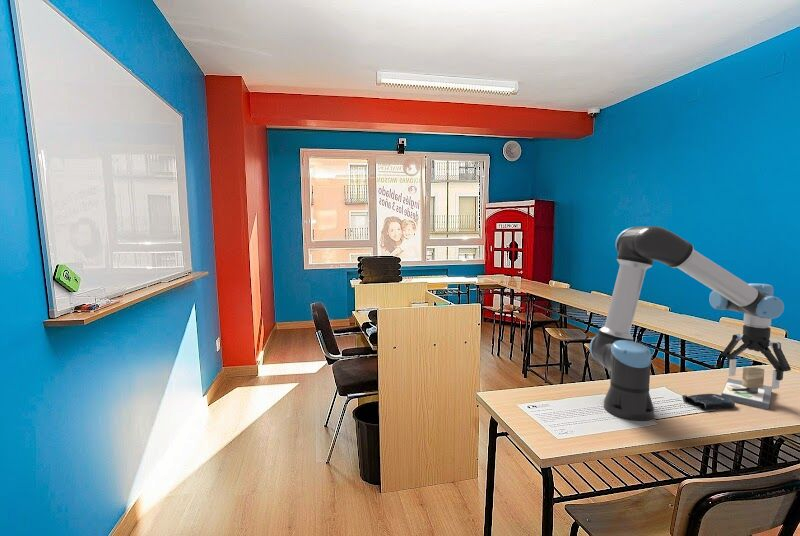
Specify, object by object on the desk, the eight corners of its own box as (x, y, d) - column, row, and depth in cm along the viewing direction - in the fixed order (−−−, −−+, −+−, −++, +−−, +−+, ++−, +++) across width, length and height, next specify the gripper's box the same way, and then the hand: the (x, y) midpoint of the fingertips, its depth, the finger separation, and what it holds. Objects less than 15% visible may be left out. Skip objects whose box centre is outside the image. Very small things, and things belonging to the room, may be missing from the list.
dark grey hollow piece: (707, 417, 135) (742, 407, 138) (704, 401, 135) (739, 391, 138) (683, 409, 144) (716, 400, 147) (680, 394, 144) (713, 385, 147)
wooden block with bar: (763, 393, 145) (765, 369, 144) (736, 393, 145) (738, 370, 144) (756, 390, 148) (757, 366, 147) (729, 390, 148) (730, 367, 147)
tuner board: (768, 409, 137) (769, 403, 137) (721, 398, 146) (721, 392, 146) (771, 391, 152) (771, 385, 152) (728, 383, 162) (728, 377, 161)
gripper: (807, 332, 134) (802, 392, 136) (725, 318, 157) (722, 369, 159) (794, 334, 132) (789, 395, 133) (713, 319, 155) (709, 372, 157)
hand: (752, 381), depth 146 cm, fingers open, 13 cm apart
